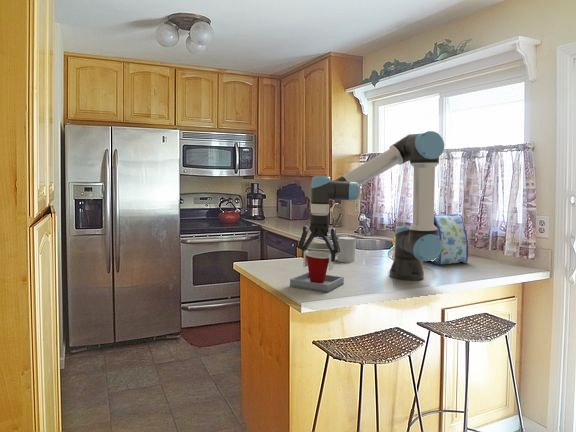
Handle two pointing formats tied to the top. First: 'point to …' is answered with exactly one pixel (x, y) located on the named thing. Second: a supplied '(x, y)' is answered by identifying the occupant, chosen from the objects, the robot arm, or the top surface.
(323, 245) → the cake pan
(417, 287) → the top surface
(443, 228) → the lunch bag
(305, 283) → the tray
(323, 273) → the plastic cup
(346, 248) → the white cylinder
